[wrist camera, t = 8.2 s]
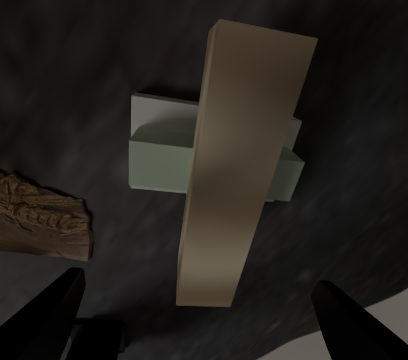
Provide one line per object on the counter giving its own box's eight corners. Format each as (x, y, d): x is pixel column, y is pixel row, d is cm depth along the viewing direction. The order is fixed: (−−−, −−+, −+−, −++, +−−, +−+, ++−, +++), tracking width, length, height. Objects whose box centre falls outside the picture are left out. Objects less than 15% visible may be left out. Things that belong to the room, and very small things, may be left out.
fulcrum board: (268, 192, 21) (287, 224, 17) (134, 179, 19) (121, 210, 15) (293, 116, 18) (324, 133, 14) (136, 92, 16) (119, 103, 12)
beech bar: (221, 259, 18) (230, 306, 15) (178, 256, 18) (176, 305, 14) (277, 44, 11) (318, 38, 8) (209, 31, 11) (219, 19, 7)
